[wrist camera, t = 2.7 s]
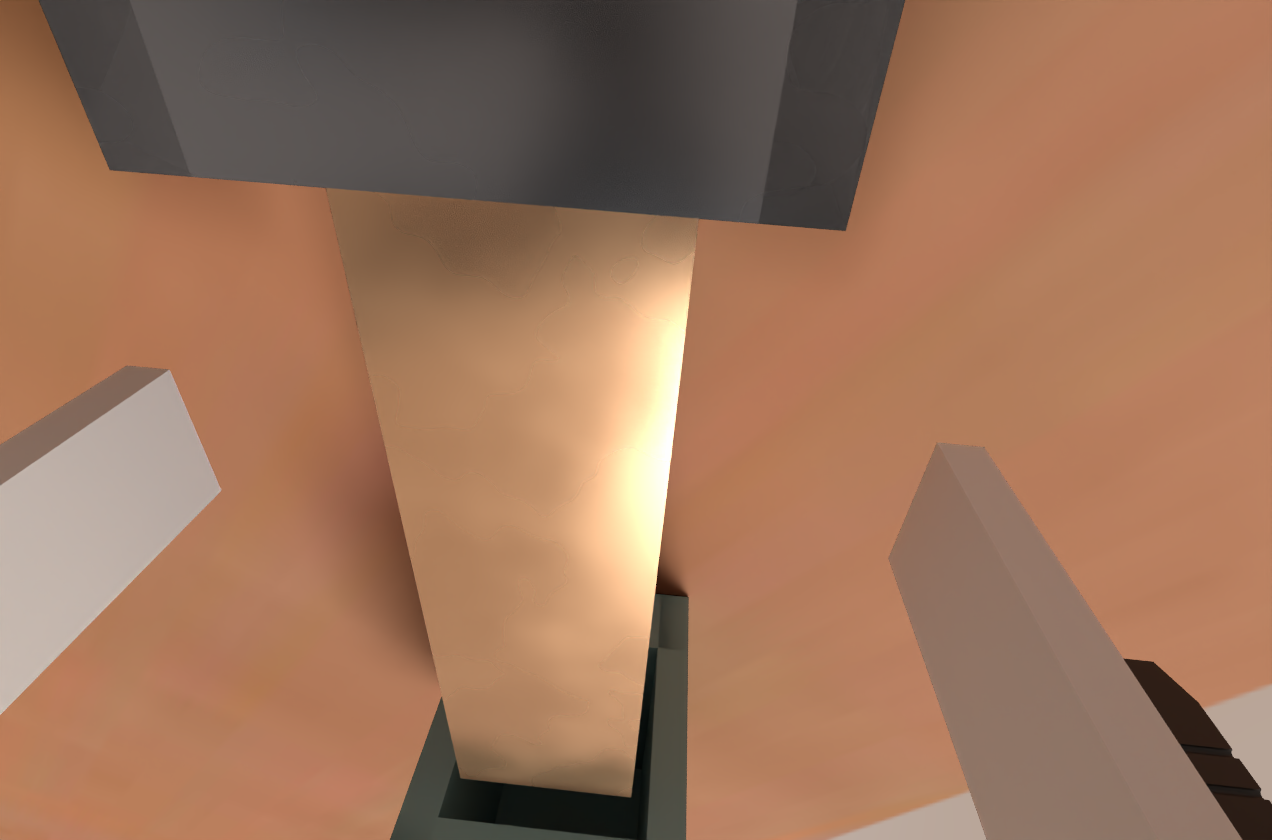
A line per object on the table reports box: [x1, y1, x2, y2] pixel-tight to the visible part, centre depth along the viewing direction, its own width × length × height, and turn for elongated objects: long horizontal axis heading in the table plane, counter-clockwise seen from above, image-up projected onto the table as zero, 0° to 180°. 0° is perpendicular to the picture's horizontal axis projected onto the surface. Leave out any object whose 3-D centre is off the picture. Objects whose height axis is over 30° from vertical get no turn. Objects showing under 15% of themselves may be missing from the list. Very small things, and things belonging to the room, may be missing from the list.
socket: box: [390, 594, 689, 840], centre depth 21 cm, size 9×7×9 cm
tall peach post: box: [326, 188, 699, 797], centre depth 10 cm, size 26×4×4 cm, turn 177°
